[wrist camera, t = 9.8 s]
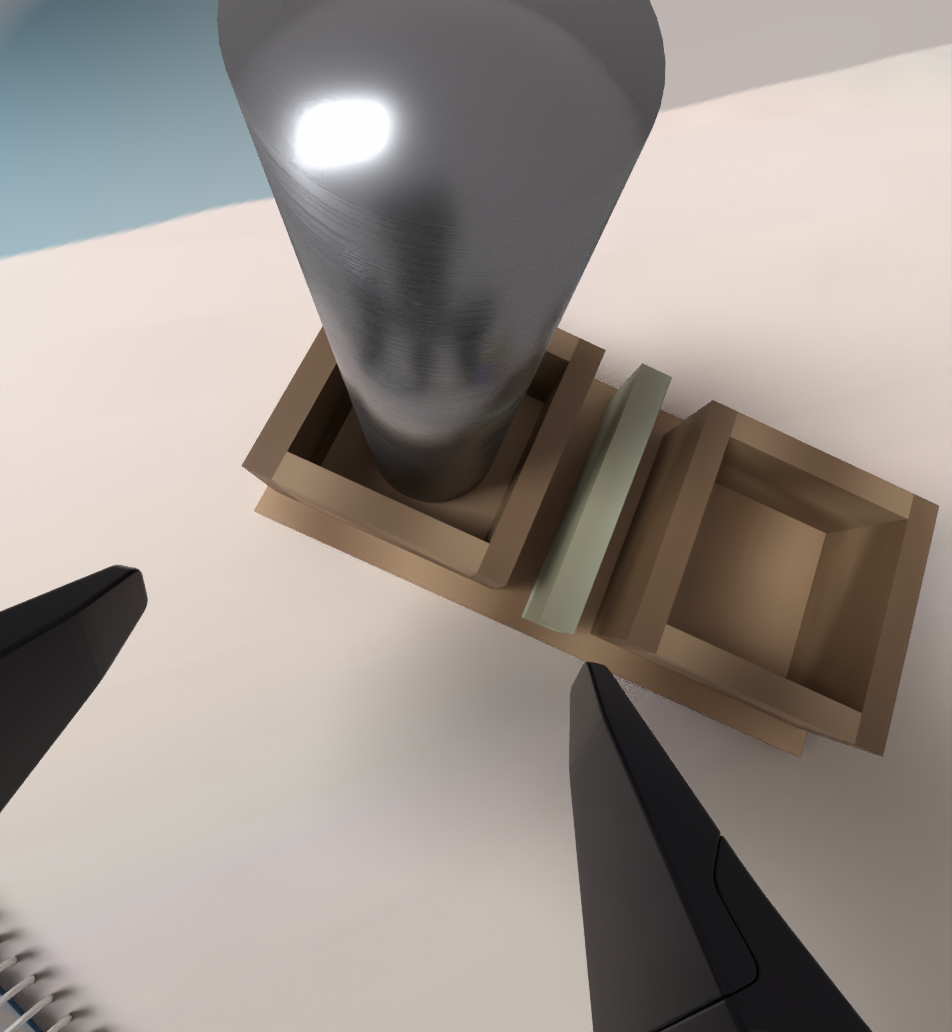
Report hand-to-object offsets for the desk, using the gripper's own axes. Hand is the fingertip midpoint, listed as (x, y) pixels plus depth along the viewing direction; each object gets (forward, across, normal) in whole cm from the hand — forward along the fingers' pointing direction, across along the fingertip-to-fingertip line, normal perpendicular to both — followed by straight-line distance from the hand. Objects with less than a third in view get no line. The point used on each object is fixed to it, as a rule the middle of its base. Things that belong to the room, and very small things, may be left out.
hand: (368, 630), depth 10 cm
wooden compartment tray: (+10, -6, +2) cm, 12 cm away
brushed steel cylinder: (+11, 0, +1) cm, 11 cm away
